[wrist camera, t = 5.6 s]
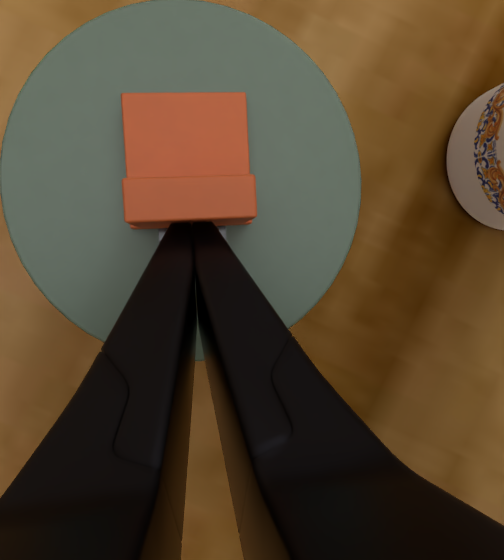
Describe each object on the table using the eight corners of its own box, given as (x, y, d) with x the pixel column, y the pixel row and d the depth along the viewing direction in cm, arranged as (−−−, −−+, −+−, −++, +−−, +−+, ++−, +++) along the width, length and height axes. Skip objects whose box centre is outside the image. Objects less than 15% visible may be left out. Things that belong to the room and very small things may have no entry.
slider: (250, 224, 11) (268, 217, 8) (132, 229, 10) (112, 223, 8) (244, 97, 11) (260, 48, 8) (123, 97, 10) (99, 48, 8)
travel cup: (288, 303, 21) (368, 348, 12) (100, 315, 20) (14, 378, 10) (280, 116, 20) (358, -1, 11) (85, 118, 19) (-21, -9, 10)
